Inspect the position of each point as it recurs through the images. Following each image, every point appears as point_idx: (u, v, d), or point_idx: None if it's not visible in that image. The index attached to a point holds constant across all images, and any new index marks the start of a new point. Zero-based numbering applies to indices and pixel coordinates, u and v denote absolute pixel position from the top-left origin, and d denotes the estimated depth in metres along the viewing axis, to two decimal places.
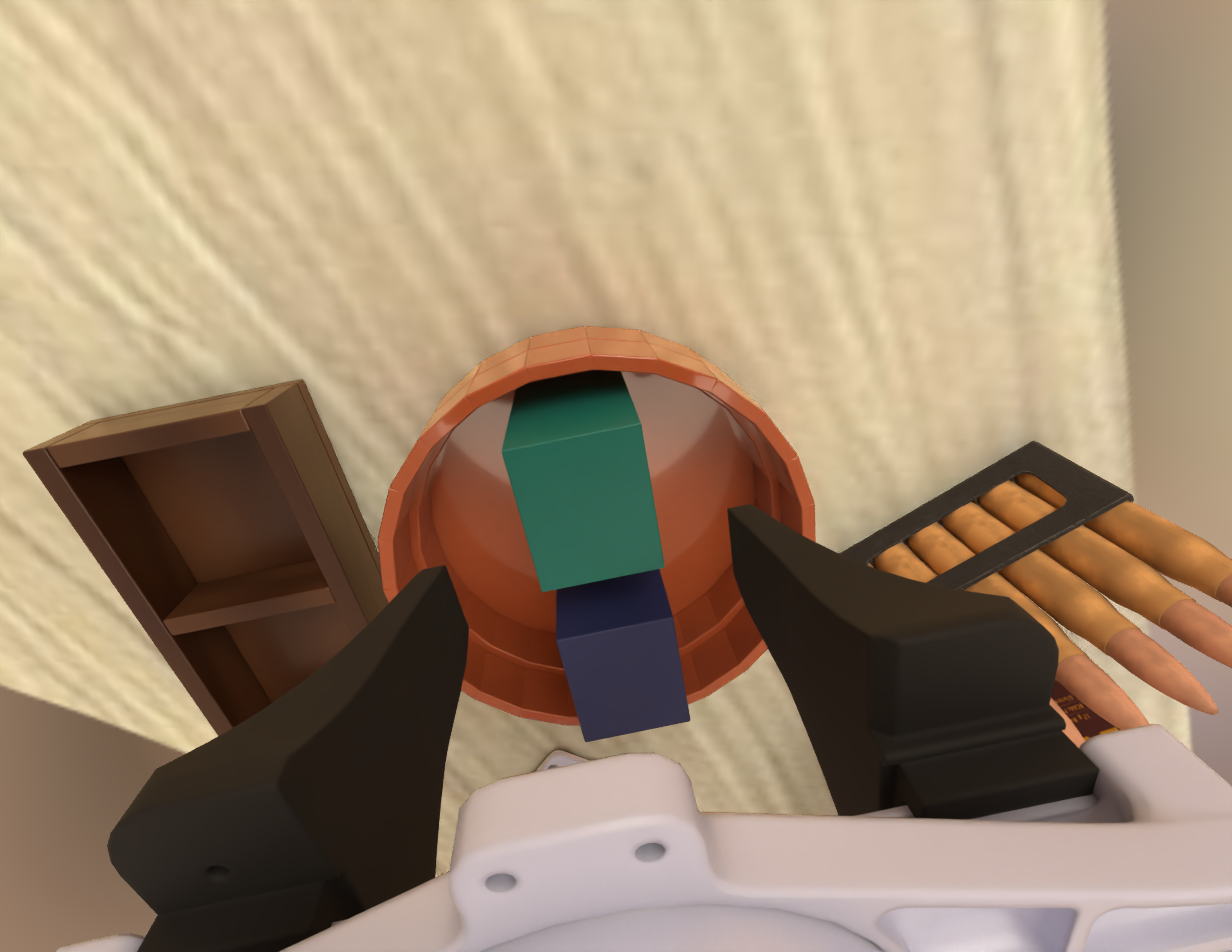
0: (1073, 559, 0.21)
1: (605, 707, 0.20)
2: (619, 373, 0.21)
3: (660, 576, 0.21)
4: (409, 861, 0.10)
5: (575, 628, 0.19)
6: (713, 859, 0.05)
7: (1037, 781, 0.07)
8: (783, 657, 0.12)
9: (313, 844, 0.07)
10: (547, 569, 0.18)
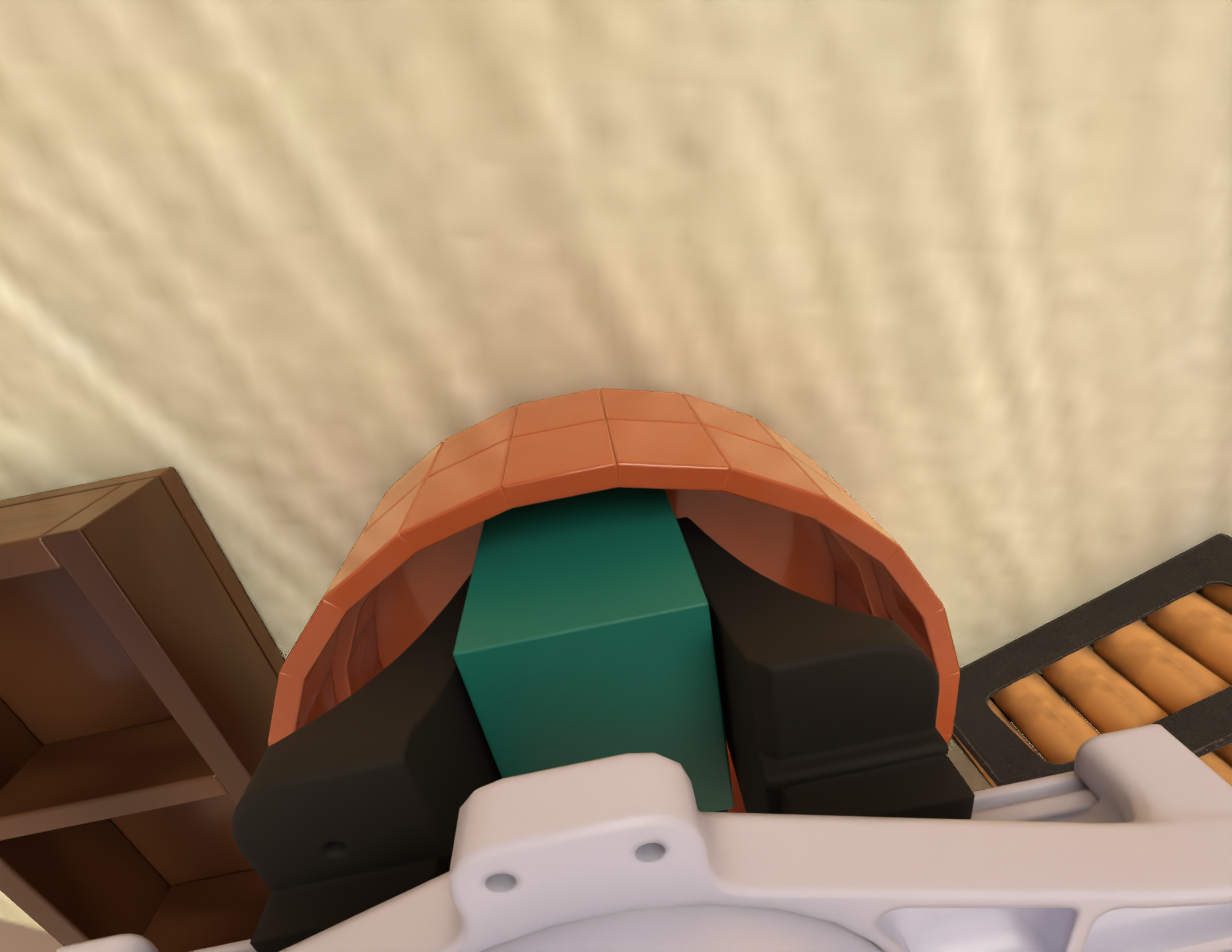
0: None
1: None
2: None
3: None
4: None
5: None
6: (713, 859, 0.05)
7: (914, 806, 0.07)
8: None
9: (431, 820, 0.07)
10: None
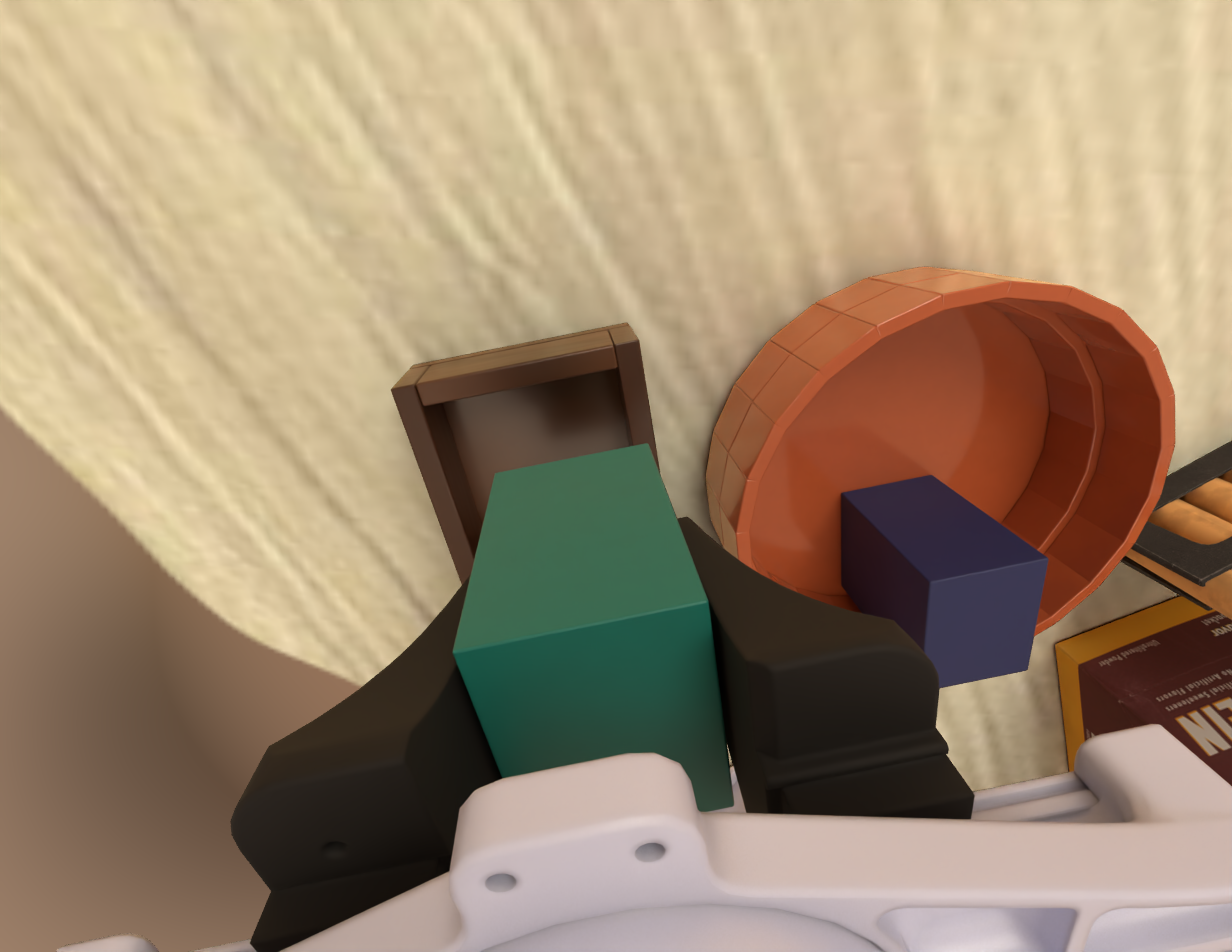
0: None
1: (953, 654, 0.20)
2: (651, 461, 0.13)
3: (997, 522, 0.21)
4: None
5: (941, 570, 0.19)
6: (713, 859, 0.05)
7: (914, 806, 0.07)
8: None
9: (431, 820, 0.07)
10: None
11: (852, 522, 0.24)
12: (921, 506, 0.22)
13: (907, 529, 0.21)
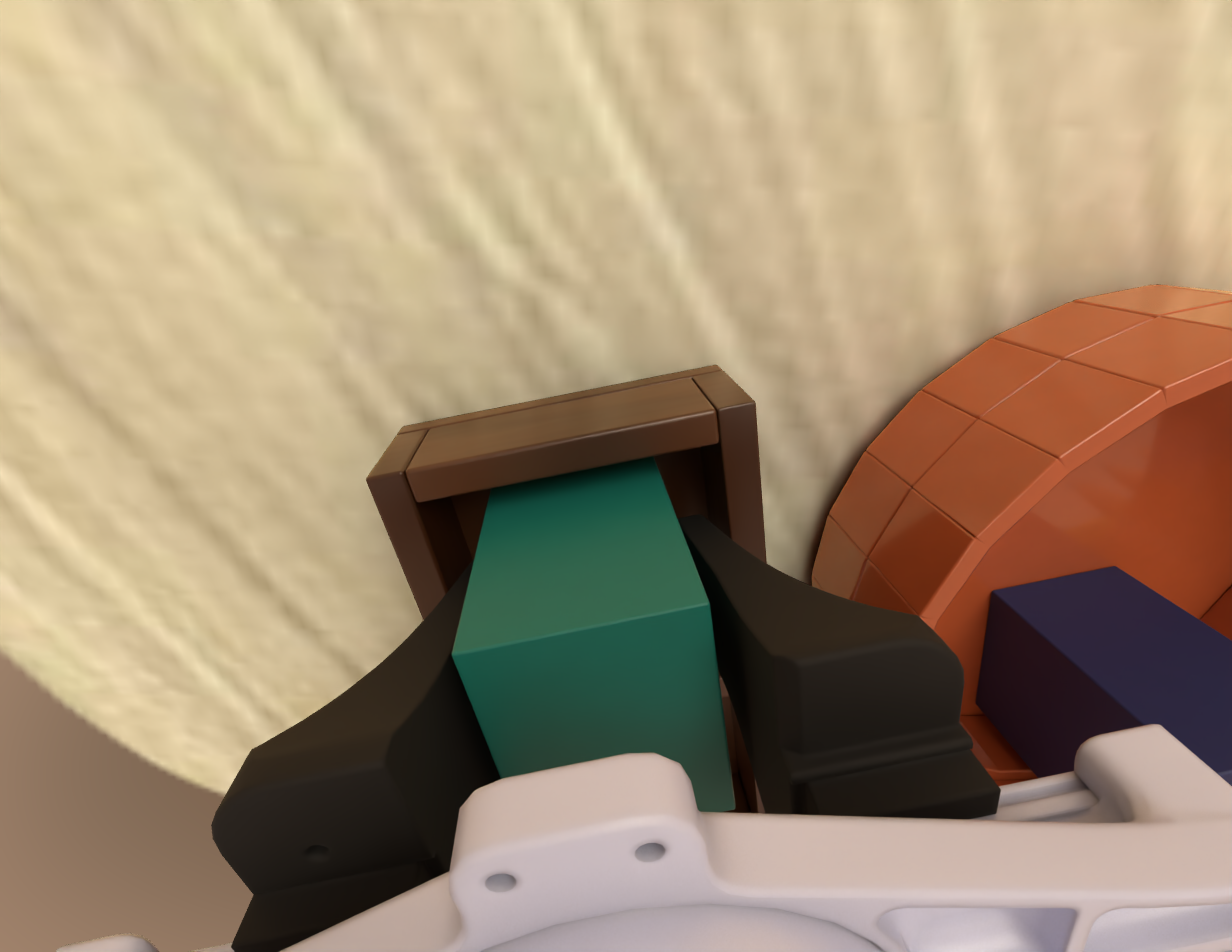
0: None
1: None
2: (651, 461, 0.13)
3: None
4: None
5: (1213, 753, 0.12)
6: (713, 859, 0.05)
7: (940, 801, 0.07)
8: (724, 669, 0.12)
9: (414, 823, 0.07)
10: None
11: (1012, 635, 0.17)
12: (1124, 622, 0.16)
13: (1120, 665, 0.15)
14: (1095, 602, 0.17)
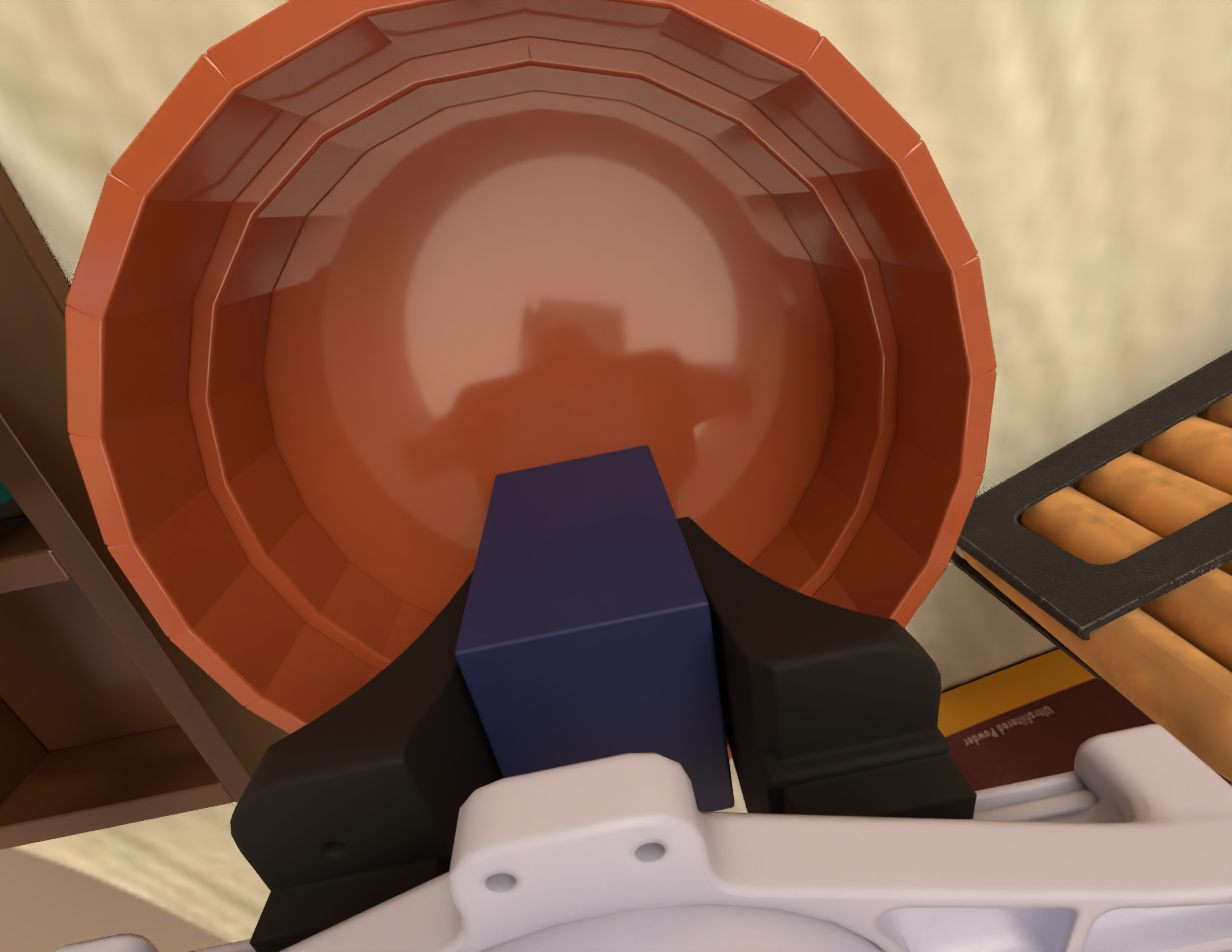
0: None
1: None
2: None
3: (677, 525, 0.11)
4: None
5: (498, 625, 0.09)
6: (713, 859, 0.05)
7: (916, 806, 0.07)
8: None
9: (431, 820, 0.07)
10: None
11: None
12: (585, 496, 0.13)
13: (523, 539, 0.11)
14: (581, 479, 0.13)
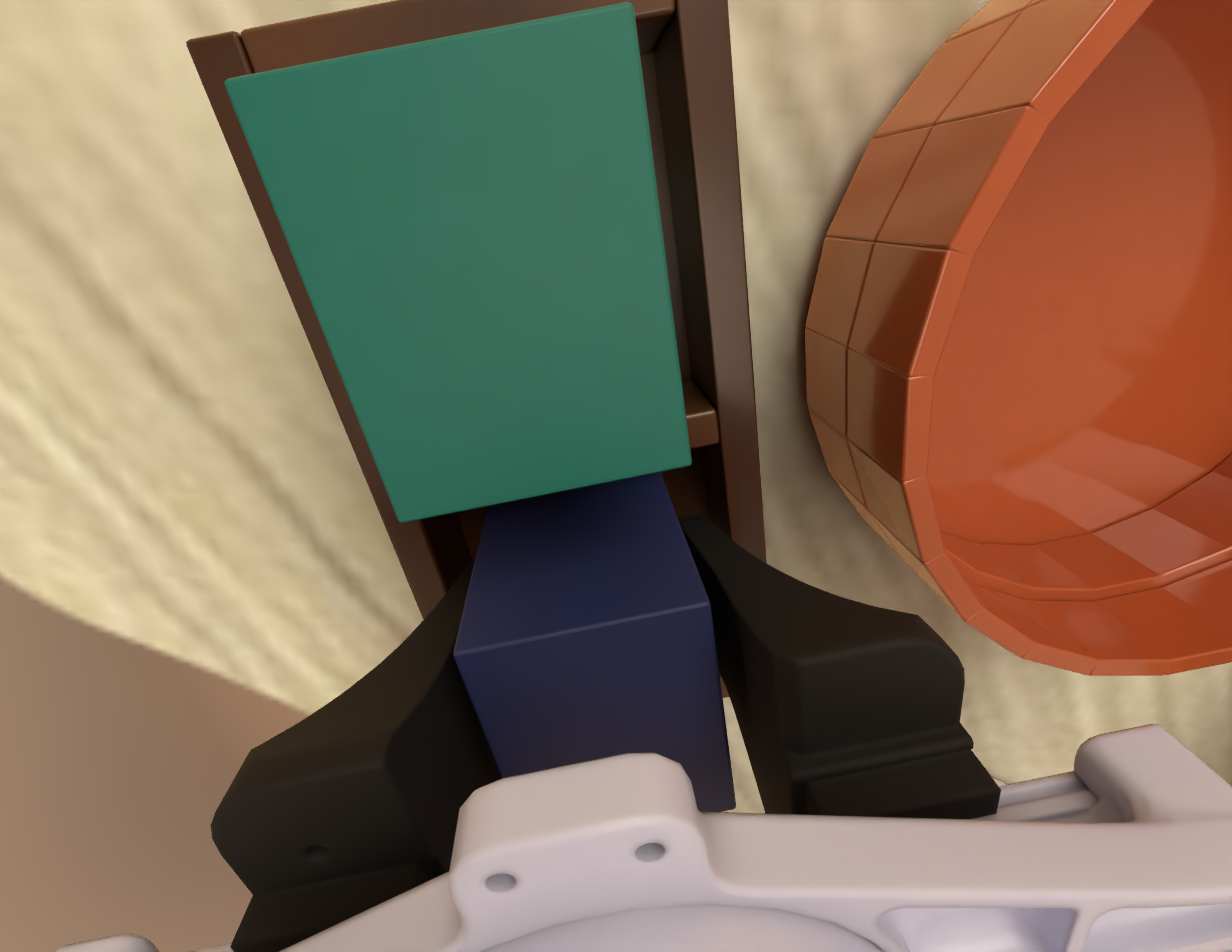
0: None
1: None
2: None
3: (678, 525, 0.11)
4: None
5: (498, 626, 0.09)
6: (713, 859, 0.05)
7: (940, 801, 0.07)
8: (724, 669, 0.12)
9: (412, 824, 0.07)
10: (405, 464, 0.07)
11: None
12: (584, 495, 0.12)
13: (523, 538, 0.11)
14: None
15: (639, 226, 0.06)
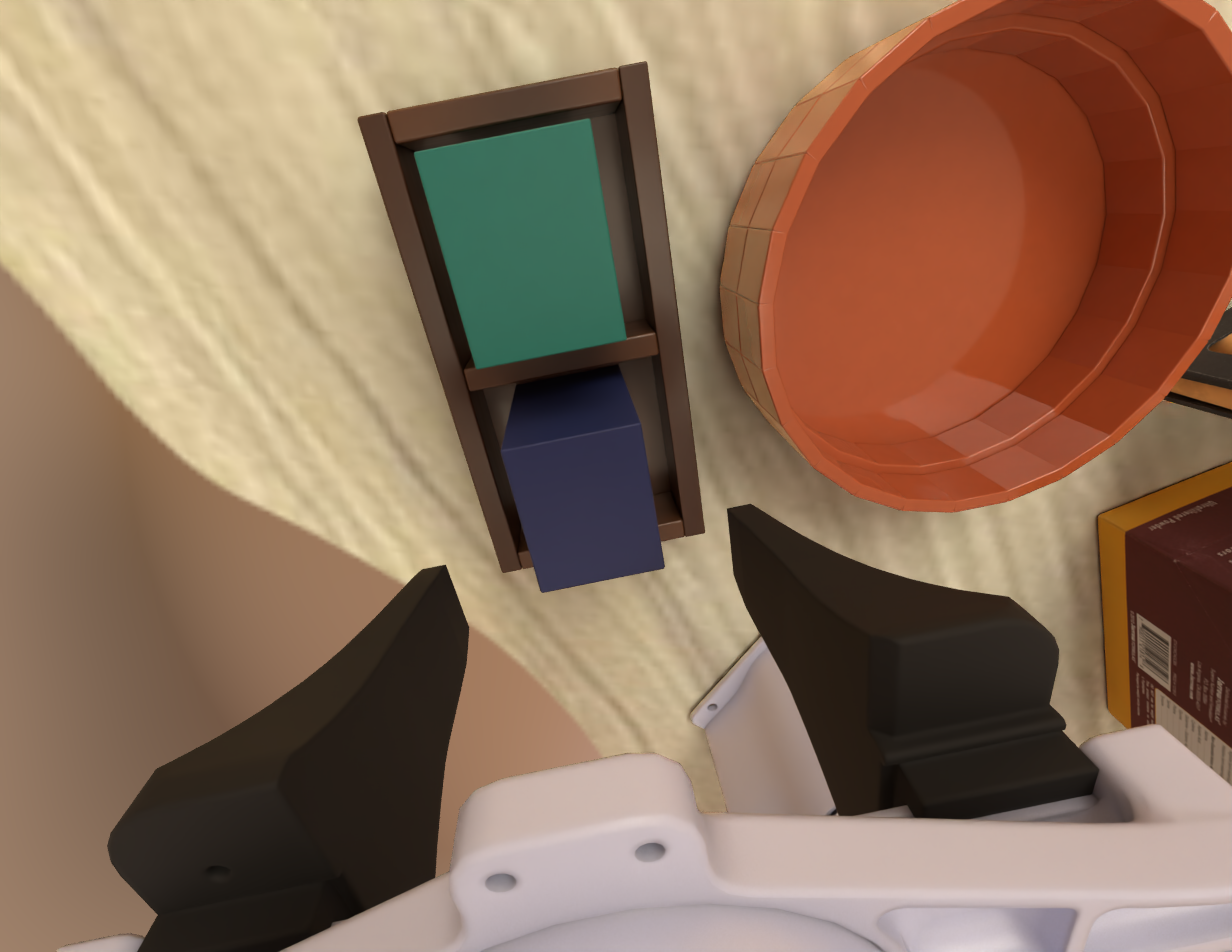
0: None
1: (563, 545, 0.17)
2: None
3: (629, 397, 0.18)
4: (409, 861, 0.10)
5: (524, 440, 0.16)
6: (713, 859, 0.05)
7: (1037, 781, 0.07)
8: (783, 657, 0.12)
9: (313, 844, 0.07)
10: (481, 335, 0.14)
11: None
12: (575, 390, 0.20)
13: (536, 409, 0.18)
14: (572, 383, 0.20)
15: (595, 216, 0.13)
